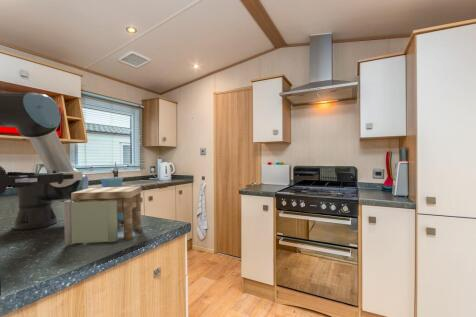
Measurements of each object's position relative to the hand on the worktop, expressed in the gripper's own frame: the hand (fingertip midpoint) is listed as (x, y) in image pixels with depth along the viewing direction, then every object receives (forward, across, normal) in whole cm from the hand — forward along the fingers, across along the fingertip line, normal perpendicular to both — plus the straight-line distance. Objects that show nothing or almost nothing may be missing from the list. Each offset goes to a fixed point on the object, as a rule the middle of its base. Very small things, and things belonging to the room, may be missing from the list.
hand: (80, 175), depth 75 cm
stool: (+15, -5, -24) cm, 29 cm away
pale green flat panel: (+6, -3, -24) cm, 25 cm away
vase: (+32, -24, -24) cm, 47 cm away
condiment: (+31, -12, -24) cm, 41 cm away
